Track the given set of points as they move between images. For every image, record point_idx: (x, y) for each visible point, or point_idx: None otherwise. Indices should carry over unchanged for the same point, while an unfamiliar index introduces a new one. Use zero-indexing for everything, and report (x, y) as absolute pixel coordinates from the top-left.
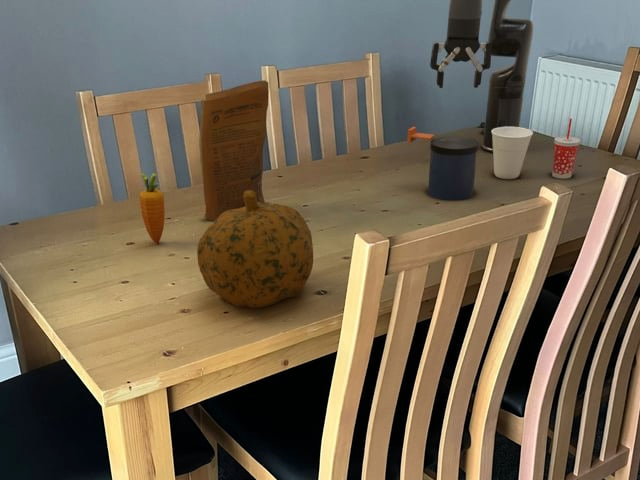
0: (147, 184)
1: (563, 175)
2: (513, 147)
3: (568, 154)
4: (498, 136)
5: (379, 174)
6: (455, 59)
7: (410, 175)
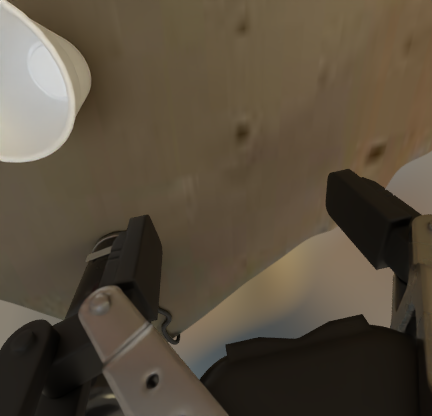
0: None
1: None
2: None
3: None
4: (19, 11)
5: (370, 26)
6: (371, 338)
7: (297, 31)
